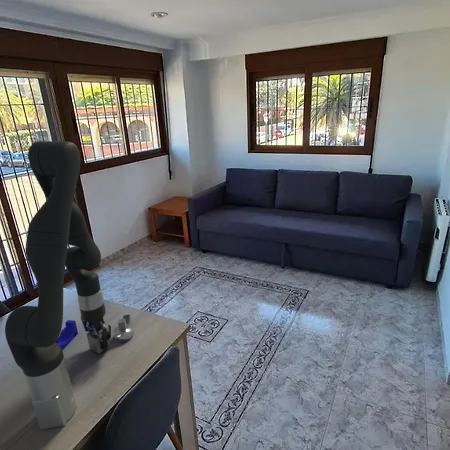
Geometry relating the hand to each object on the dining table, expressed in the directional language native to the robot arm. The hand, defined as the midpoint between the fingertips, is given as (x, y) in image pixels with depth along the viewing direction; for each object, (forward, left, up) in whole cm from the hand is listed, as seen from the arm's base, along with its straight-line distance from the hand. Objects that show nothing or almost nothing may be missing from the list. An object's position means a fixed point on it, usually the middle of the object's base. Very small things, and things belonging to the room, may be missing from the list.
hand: (100, 345), depth 109 cm
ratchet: (+8, -7, -1) cm, 11 cm away
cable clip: (+5, +14, -2) cm, 15 cm away
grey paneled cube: (0, 0, -1) cm, 1 cm away
